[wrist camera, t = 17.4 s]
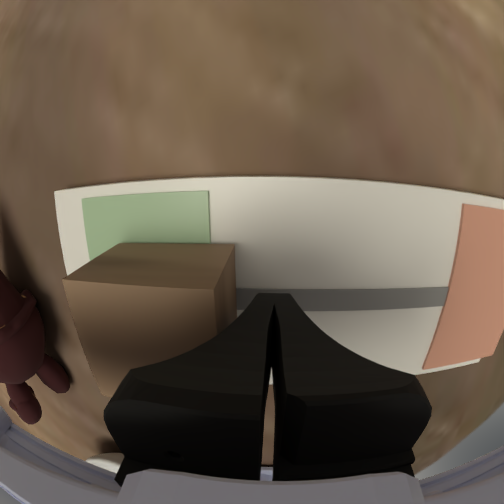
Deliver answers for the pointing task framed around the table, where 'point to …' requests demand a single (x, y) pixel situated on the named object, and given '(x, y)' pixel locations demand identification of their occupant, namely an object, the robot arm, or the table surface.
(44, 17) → the table surface
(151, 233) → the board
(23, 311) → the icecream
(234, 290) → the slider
